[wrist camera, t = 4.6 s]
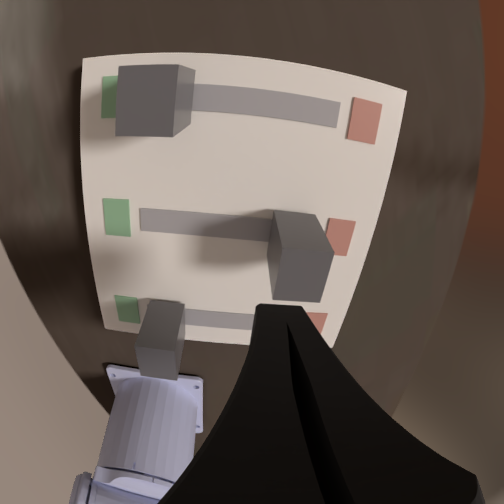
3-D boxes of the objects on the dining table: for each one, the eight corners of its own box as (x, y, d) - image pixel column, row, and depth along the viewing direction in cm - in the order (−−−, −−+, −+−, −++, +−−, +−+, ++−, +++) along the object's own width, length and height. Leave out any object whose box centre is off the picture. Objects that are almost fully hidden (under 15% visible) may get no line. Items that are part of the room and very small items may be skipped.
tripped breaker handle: (305, 257, 16) (319, 302, 13) (266, 254, 16) (272, 299, 13) (315, 214, 15) (334, 252, 12) (273, 209, 14) (282, 247, 11)
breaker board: (327, 331, 21) (345, 394, 16) (111, 313, 20) (86, 373, 15) (393, 89, 13) (454, 98, 8) (96, 59, 12) (35, 56, 7)
